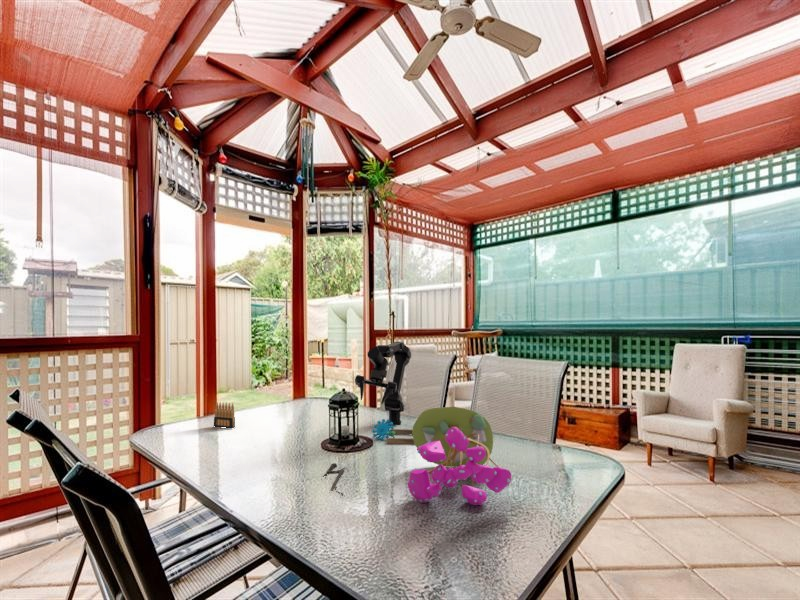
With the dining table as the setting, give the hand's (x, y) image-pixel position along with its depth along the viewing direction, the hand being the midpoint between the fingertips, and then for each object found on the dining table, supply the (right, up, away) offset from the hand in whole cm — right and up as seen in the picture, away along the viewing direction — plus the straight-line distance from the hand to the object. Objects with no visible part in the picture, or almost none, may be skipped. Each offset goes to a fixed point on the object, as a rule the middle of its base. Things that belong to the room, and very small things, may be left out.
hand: (371, 402), depth 163 cm
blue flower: (+6, -16, 0) cm, 17 cm away
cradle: (+16, -16, -1) cm, 23 cm away
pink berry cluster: (+29, -13, -50) cm, 60 cm away
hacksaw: (-8, -14, -44) cm, 46 cm away
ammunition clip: (-72, -17, +16) cm, 75 cm away
